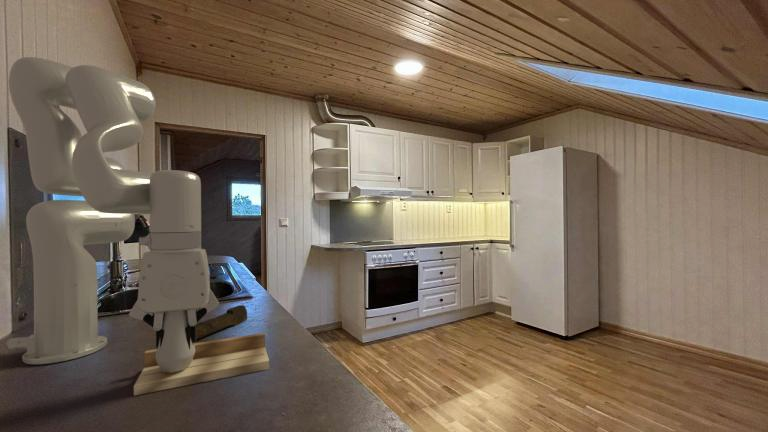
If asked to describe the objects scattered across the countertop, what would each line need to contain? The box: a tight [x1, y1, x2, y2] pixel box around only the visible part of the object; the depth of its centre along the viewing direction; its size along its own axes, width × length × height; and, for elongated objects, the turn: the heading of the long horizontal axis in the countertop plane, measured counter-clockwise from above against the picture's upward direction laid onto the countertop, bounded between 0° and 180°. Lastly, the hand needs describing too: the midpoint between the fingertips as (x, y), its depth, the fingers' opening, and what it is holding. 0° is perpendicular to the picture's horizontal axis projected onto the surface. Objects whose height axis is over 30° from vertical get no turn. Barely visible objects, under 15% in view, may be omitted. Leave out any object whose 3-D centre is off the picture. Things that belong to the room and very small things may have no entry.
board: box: [133, 332, 270, 396], centre depth 60 cm, size 20×10×4 cm, turn 115°
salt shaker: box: [156, 310, 195, 373], centre depth 56 cm, size 6×6×13 cm
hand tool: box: [196, 304, 248, 341], centre depth 80 cm, size 19×4×5 cm, turn 157°
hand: (176, 348), depth 56 cm, fingers closed on salt shaker, 3 cm apart
